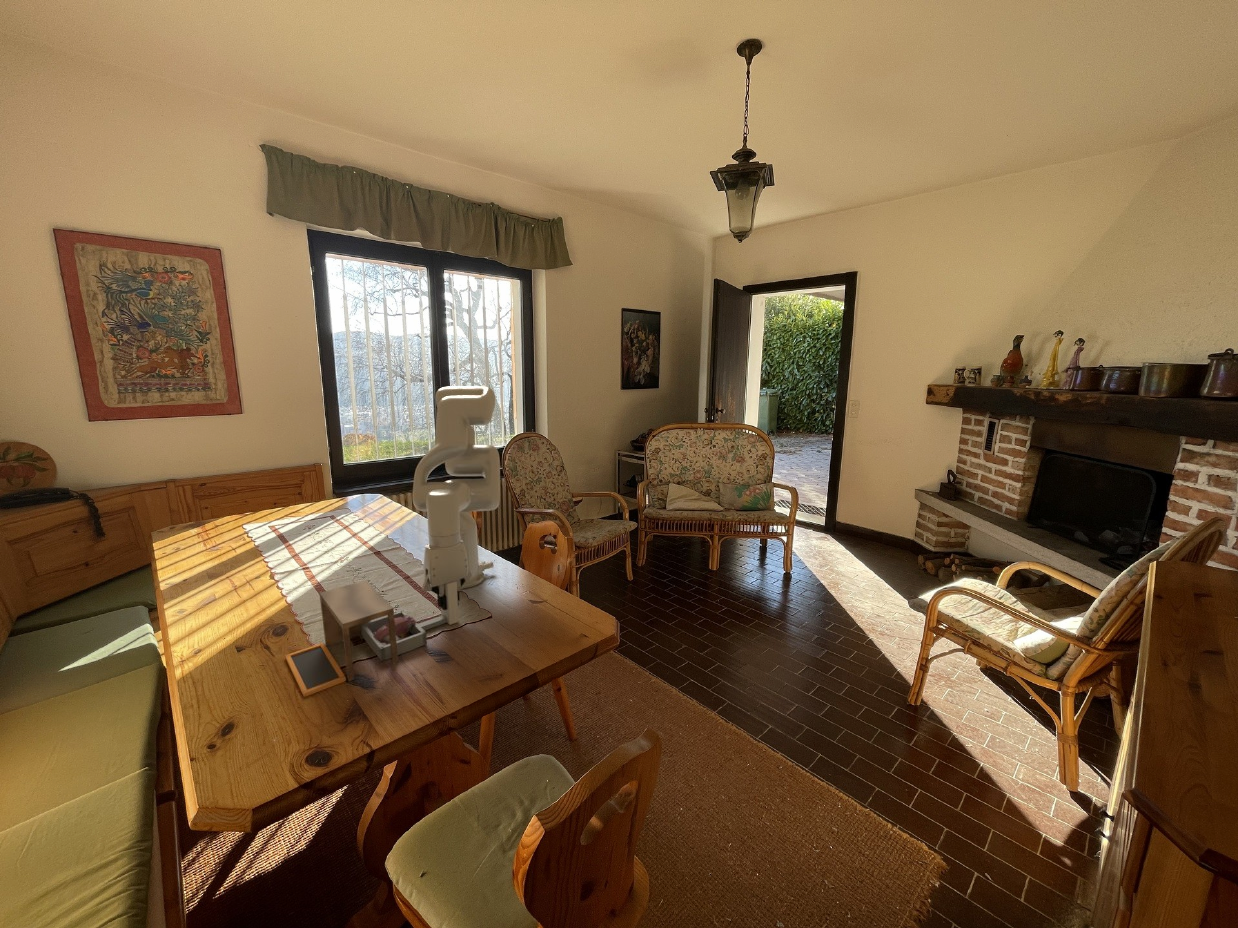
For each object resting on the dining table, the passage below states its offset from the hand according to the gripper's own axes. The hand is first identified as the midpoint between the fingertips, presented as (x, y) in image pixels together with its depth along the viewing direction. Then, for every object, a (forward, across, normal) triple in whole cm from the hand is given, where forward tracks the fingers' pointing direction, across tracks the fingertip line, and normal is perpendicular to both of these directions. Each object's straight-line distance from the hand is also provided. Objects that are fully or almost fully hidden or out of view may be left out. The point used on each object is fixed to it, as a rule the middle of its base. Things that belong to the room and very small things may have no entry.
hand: (449, 605), depth 127 cm
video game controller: (+4, +14, 0) cm, 15 cm away
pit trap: (+4, +31, 0) cm, 31 cm away
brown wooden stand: (+4, +22, 0) cm, 22 cm away
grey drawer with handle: (+4, +9, 0) cm, 10 cm away
